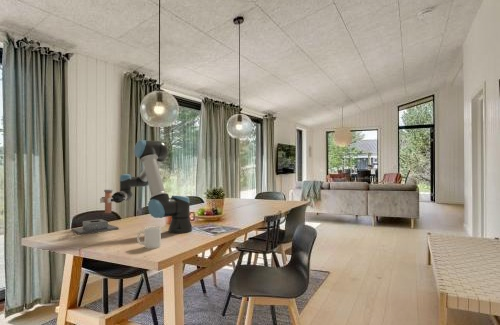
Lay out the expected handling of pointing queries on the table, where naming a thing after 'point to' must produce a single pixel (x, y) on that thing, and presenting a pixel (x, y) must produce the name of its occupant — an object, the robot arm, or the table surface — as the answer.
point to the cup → (151, 237)
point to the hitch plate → (83, 231)
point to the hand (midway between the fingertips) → (104, 200)
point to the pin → (107, 205)
